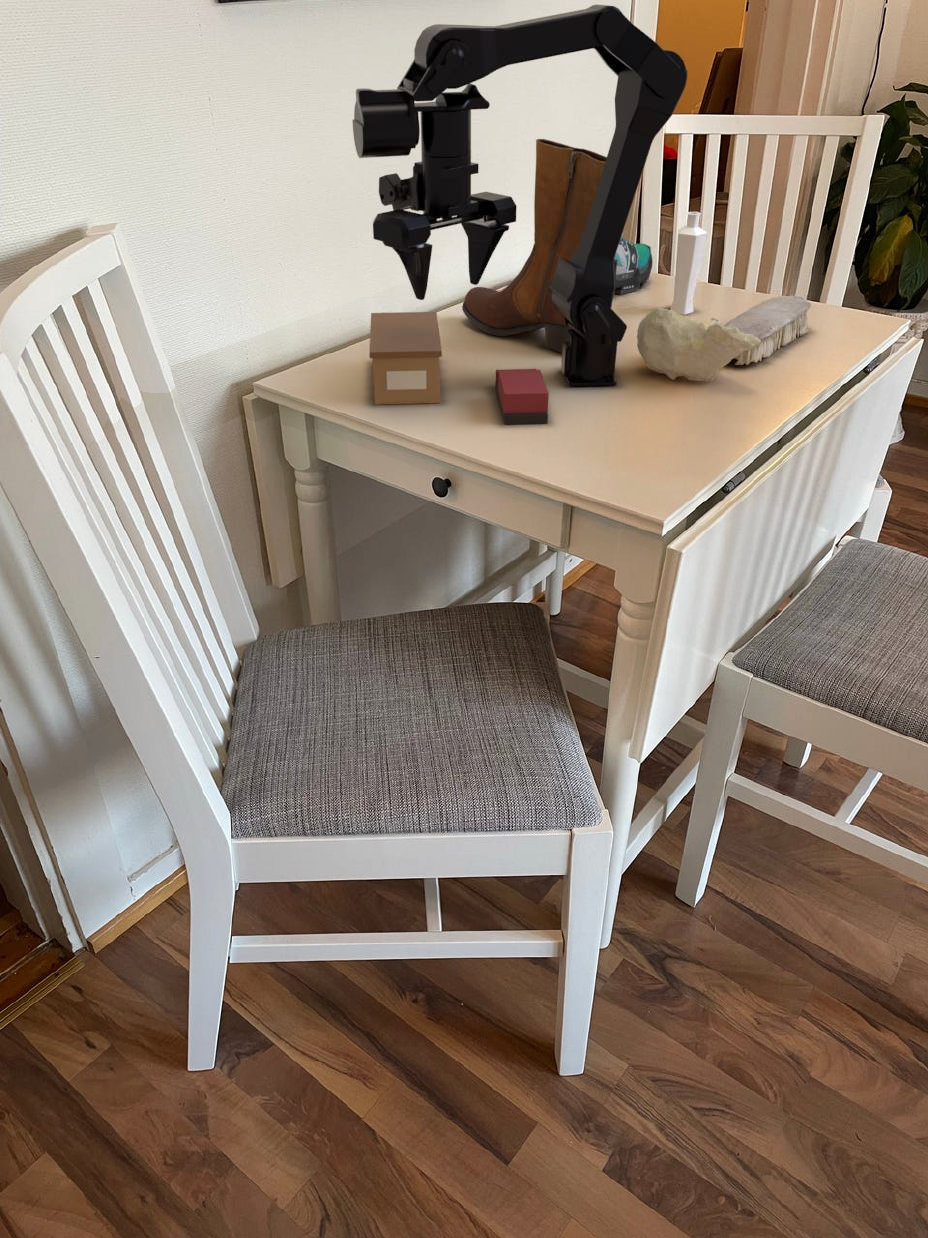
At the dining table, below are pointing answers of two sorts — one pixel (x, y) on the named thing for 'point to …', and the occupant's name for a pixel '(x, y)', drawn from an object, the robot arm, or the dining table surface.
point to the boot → (543, 246)
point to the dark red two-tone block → (522, 396)
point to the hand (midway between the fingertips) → (447, 291)
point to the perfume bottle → (688, 263)
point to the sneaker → (631, 266)
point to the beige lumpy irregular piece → (689, 345)
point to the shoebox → (405, 357)
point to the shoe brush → (771, 325)
